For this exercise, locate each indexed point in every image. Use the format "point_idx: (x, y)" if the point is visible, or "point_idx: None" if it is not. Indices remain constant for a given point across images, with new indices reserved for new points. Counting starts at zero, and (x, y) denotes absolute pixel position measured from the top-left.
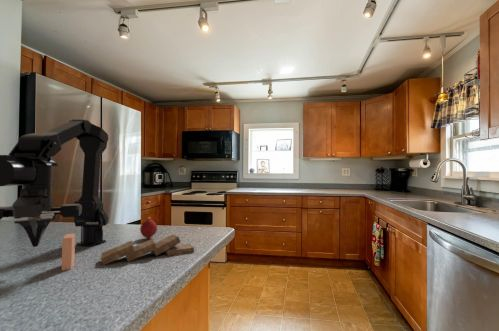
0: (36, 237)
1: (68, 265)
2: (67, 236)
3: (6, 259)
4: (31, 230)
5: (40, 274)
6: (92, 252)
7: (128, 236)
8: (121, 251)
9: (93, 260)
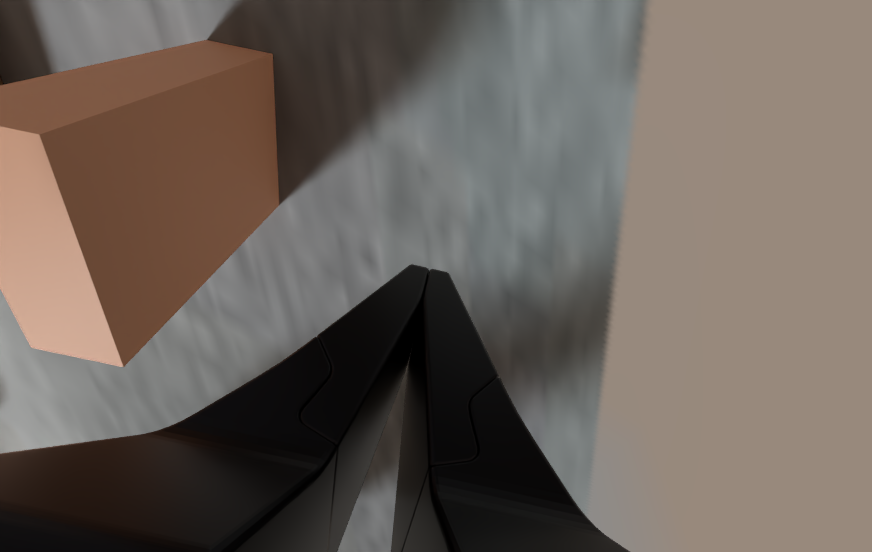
0: (394, 320)
1: (207, 48)
2: (36, 234)
3: (584, 466)
4: (442, 416)
5: (409, 50)
6: (173, 340)
7: None
8: None
9: None
